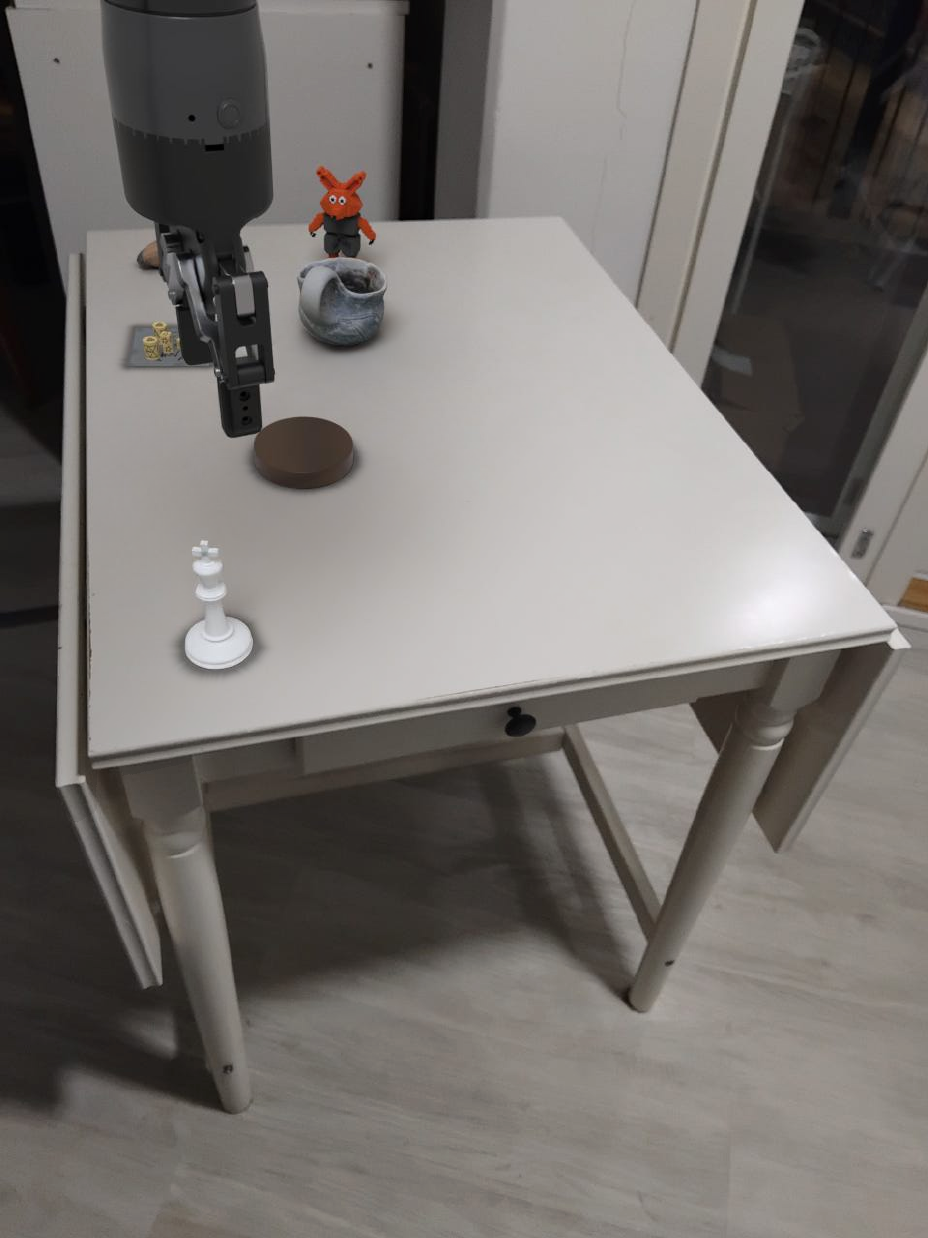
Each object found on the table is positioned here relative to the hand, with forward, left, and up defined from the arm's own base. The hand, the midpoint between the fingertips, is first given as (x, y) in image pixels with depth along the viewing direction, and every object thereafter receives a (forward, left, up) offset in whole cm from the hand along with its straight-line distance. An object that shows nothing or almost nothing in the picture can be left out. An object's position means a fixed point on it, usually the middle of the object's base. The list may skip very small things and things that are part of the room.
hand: (221, 395), depth 58 cm
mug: (+23, +38, -21) cm, 49 cm away
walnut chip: (+12, +19, -20) cm, 30 cm away
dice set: (+6, +43, -21) cm, 48 cm away
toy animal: (+29, +53, -21) cm, 64 cm away
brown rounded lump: (+12, +61, -21) cm, 66 cm away
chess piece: (-2, -1, -21) cm, 21 cm away
